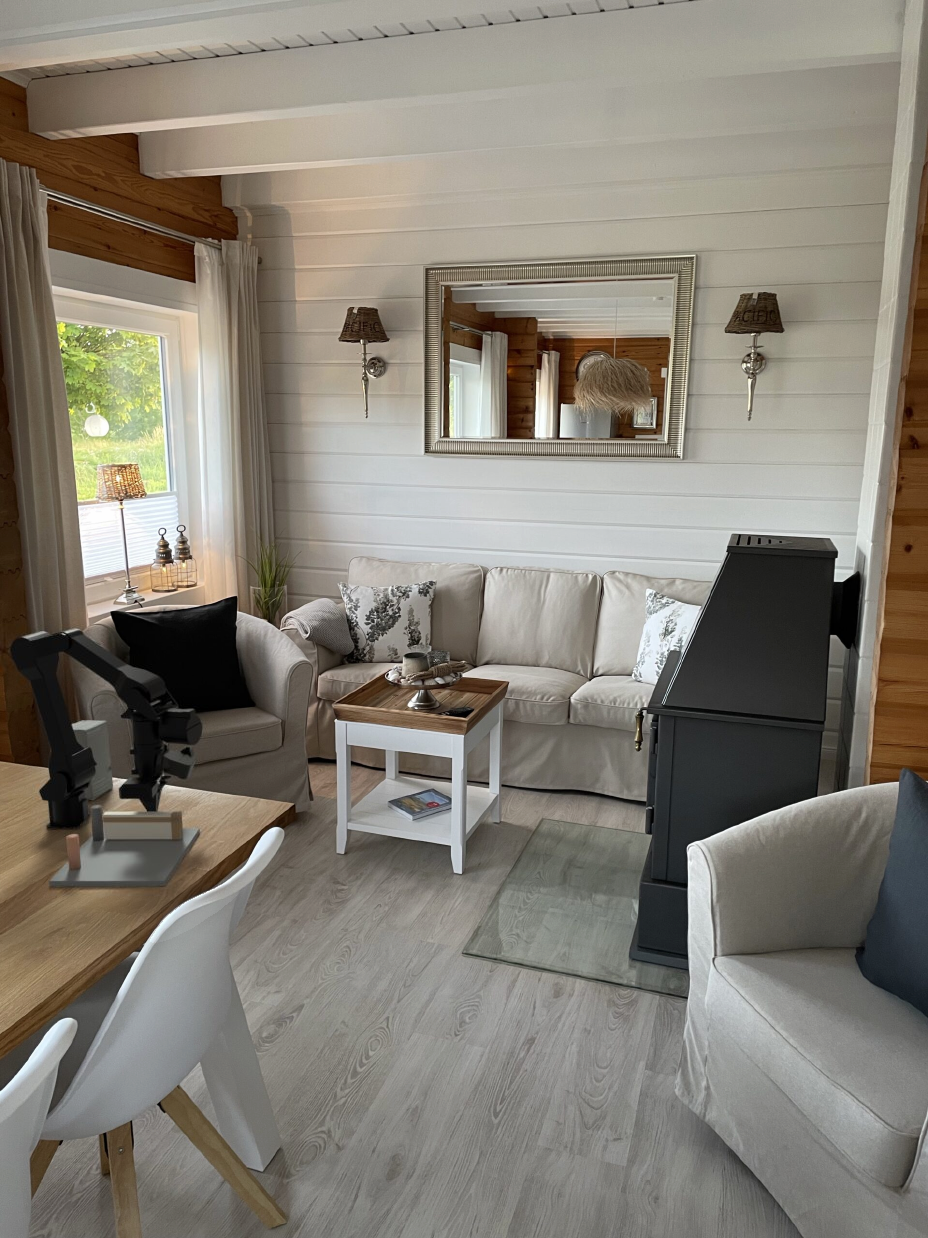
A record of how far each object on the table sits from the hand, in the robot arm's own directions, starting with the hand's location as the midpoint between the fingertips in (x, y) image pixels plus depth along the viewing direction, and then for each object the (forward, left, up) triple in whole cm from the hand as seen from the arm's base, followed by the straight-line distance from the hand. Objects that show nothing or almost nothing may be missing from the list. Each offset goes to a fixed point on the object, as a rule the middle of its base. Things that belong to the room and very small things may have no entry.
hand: (153, 815), depth 179 cm
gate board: (-1, -11, -4) cm, 12 cm away
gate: (0, -5, -2) cm, 6 cm away
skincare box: (-21, +21, -4) cm, 30 cm away
